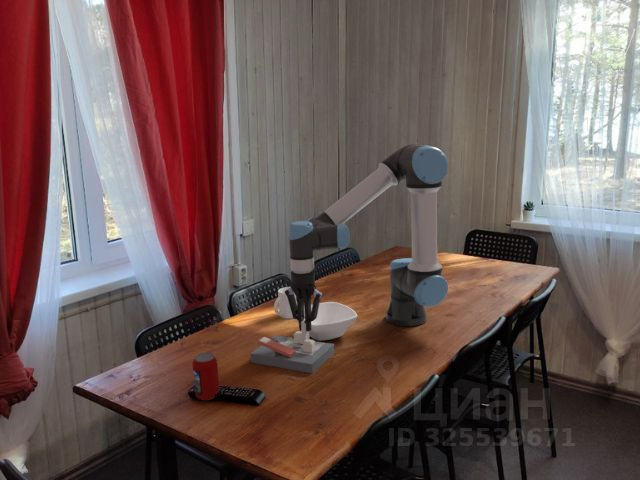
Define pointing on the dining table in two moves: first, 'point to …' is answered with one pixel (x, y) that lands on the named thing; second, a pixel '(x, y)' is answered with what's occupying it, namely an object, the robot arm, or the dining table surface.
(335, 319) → the bowl
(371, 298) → the dining table surface
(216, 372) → the beverage can
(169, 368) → the dining table surface
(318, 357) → the panel
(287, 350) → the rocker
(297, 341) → the slider
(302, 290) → the robot arm
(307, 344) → the slider
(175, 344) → the dining table surface
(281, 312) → the mug
